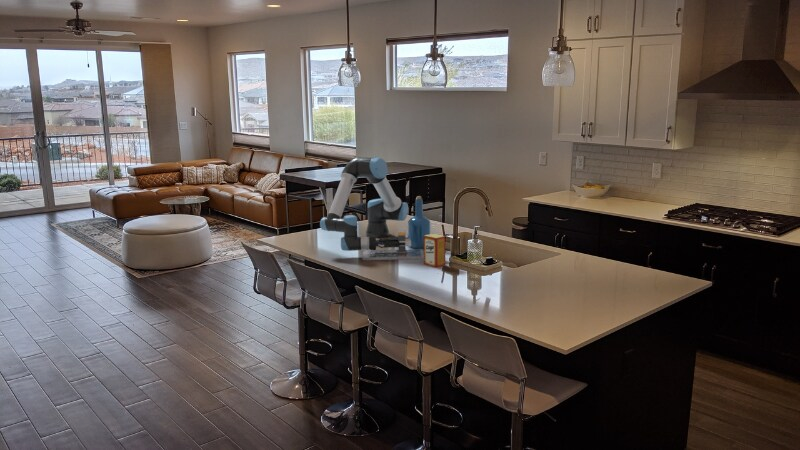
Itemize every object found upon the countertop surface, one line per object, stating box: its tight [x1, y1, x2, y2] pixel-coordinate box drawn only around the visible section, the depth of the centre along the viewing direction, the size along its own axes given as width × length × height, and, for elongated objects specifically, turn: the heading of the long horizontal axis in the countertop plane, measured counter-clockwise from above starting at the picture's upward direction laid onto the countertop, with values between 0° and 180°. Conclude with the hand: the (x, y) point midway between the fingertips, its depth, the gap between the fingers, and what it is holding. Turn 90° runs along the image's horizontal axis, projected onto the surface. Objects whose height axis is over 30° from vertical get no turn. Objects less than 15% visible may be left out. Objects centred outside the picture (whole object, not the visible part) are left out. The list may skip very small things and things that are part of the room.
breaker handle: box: [395, 231, 408, 253], centre depth 354 cm, size 4×6×11 cm
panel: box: [362, 248, 422, 261], centre depth 355 cm, size 16×32×2 cm, turn 92°
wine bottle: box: [407, 195, 432, 250], centre depth 374 cm, size 14×13×30 cm
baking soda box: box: [423, 233, 446, 268], centre depth 334 cm, size 10×6×16 cm
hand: (410, 242), depth 354 cm, fingers closed on breaker handle, 4 cm apart
